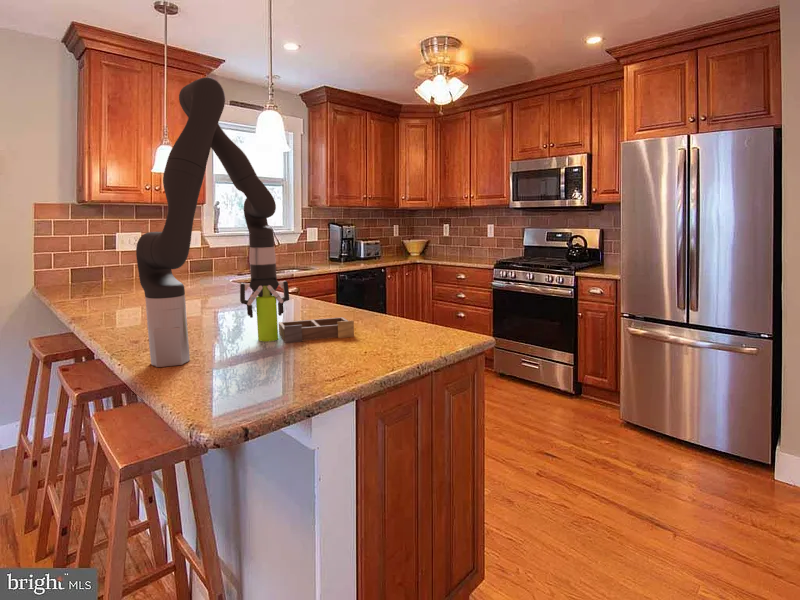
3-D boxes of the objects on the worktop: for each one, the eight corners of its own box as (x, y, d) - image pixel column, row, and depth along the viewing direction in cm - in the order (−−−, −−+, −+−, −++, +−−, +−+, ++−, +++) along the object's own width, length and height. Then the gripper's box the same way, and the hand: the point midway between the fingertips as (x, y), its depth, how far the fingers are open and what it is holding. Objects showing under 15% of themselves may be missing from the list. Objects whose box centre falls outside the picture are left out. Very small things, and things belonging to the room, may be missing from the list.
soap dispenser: (251, 341, 155) (247, 274, 152) (267, 336, 161) (264, 272, 158) (266, 343, 153) (263, 275, 150) (282, 338, 159) (279, 273, 156)
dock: (354, 336, 160) (353, 320, 159) (285, 343, 152) (284, 326, 152) (343, 328, 172) (343, 313, 171) (279, 334, 165) (278, 318, 164)
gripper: (238, 264, 148) (242, 320, 150) (289, 262, 152) (291, 316, 155) (237, 262, 154) (240, 316, 157) (285, 260, 159) (287, 312, 162)
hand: (265, 316), depth 156 cm, fingers open, 8 cm apart
